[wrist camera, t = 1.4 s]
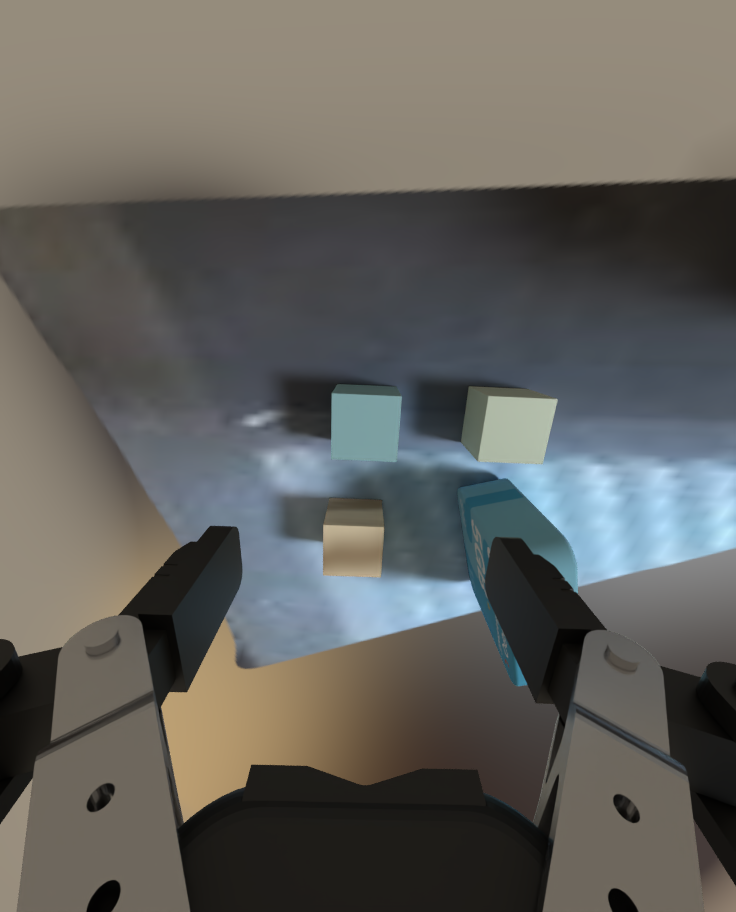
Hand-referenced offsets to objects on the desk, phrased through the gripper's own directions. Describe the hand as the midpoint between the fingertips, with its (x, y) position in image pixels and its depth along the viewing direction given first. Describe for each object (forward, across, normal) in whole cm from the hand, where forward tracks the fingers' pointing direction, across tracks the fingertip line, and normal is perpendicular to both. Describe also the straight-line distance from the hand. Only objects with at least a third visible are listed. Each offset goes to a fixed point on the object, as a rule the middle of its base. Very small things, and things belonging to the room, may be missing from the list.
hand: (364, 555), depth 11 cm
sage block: (+20, -11, 0) cm, 23 cm away
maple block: (+20, +1, +11) cm, 23 cm away
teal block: (+20, 0, 0) cm, 20 cm away
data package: (+20, -12, +11) cm, 26 cm away
